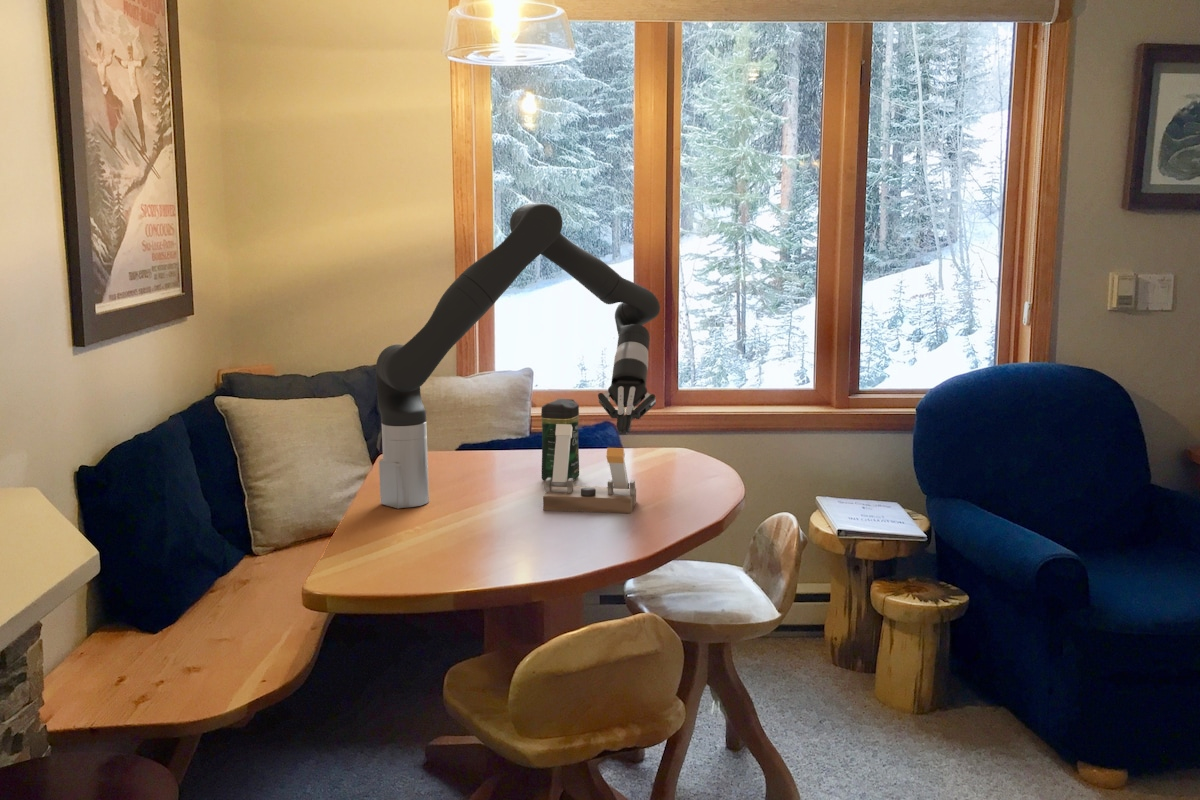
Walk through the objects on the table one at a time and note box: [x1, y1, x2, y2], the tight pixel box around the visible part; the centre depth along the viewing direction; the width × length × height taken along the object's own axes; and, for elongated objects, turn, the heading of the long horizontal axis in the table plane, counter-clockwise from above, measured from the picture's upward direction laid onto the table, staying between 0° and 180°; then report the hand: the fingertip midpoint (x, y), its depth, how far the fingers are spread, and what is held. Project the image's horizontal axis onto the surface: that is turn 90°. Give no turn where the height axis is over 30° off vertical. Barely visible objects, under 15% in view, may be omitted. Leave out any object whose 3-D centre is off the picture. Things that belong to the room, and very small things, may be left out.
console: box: [542, 478, 637, 514], centre depth 217 cm, size 9×18×6 cm, turn 81°
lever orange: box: [606, 447, 630, 489], centre depth 211 cm, size 2×3×13 cm
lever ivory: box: [551, 424, 573, 487], centre depth 220 cm, size 2×3×13 cm, turn 81°
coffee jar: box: [540, 398, 580, 482], centre depth 239 cm, size 10×8×19 cm
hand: (623, 432), depth 220 cm, fingers closed
